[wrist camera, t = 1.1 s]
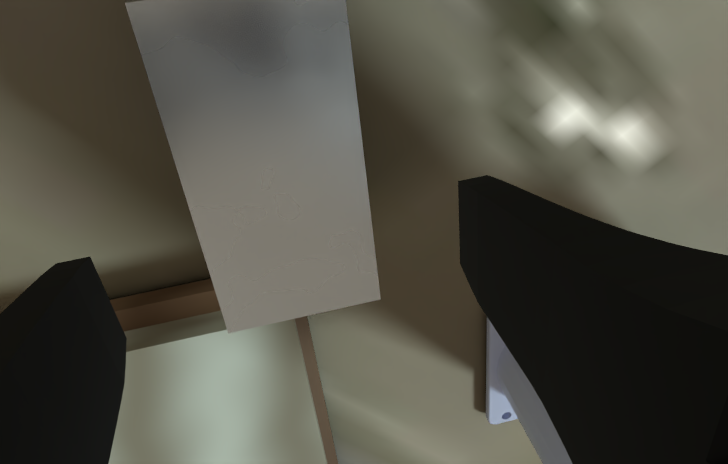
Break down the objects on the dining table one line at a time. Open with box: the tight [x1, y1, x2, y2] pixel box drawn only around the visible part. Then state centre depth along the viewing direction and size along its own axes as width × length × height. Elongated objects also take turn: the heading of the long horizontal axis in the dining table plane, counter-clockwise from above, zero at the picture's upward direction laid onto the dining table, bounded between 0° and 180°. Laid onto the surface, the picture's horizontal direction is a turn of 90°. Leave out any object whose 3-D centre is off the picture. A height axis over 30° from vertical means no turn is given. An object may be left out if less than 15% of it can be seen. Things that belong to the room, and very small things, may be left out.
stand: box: [109, 279, 338, 464], centre depth 25 cm, size 14×13×2 cm
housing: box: [125, 0, 381, 333], centre depth 17 cm, size 4×9×6 cm, turn 5°
